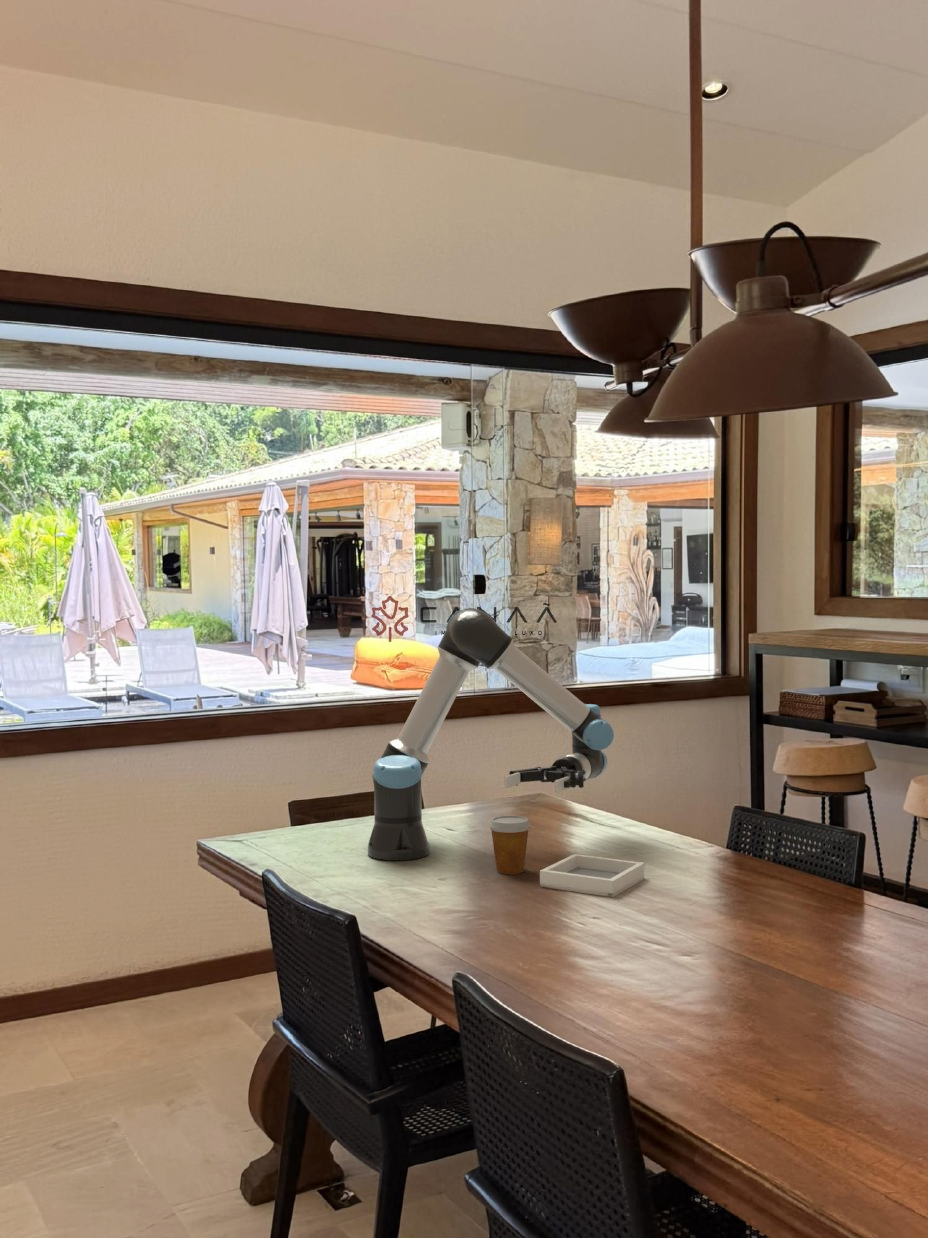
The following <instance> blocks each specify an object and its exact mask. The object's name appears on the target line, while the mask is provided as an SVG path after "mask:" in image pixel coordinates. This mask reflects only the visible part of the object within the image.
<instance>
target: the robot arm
mask: <svg viewBox="0 0 928 1238" xmlns="http://www.w3.org/2000/svg"><path fill="white" fill-rule="evenodd" d="M437 649H438V654H439V656H438V659H437V661H435V662H436V663H435V664H434V665H433V668H432V671H431V672H430V674H429V675H428V678H427V680H426V682H425V683H424V686H423V688H422V690H421V691H420V694H419V696H418V698H417V700H416V701H415V704H414V706H413V707H412V709H411V712H410V713H409V716H408V717H407V719H406V721H405V723H404V725H403V727H402V728H401V730H400V732H399V734H398V737H397V738H395V739H393V740H390V741H388V744H387V745H386V748H385V749H384V751H383V753H382V755H381V756H380V758H379V759H377V760H375V762H374V764H373V765H374V766H373V769H372V782H373V796H374V797H373V798H374V800H373V801H374V802H373V804H374V805H373V806H374V808H373V809H374V813H373V814H374V823H373V827H372V831H371V834H370V836H369V840H368V844H367V855H368V856H369V857H370V858H372V857H373V859H375V858H378V859H377V860H380V859H383V861H392V860H399V861H410V860H416V858H417V859H420V858H424V857H427V856H428V855H429V854H430V843H429V841H428V837H427V833H426V831H425V828H424V825H423V820H422V819H423V817H422V814H423V813H422V807H423V806H422V777H423V775H424V773H425V771H426V770H427V767H428V766H429V764H430V759H429V755H428V752H429V751H430V749H431V747H432V745H433V742H434V740H435V739H436V737H437V735H438V733H439V731H440V729H441V728H442V725H443V724H444V721H445V719H446V717H447V715H448V713H449V712H450V709H451V707H452V705H453V704H454V702H455V700H456V697H457V696H458V694H459V691H460V689H461V688H462V686H463V684H464V682H465V680H466V678H467V677H468V674H469V672H470V671H472V670H475V669H478V668H479V665H480V664H481V665H483V666H484V667H485V668H486V669H488V670H495V671H497V673H499V674H501V676H503V678H505V679H506V680H507V681H509V682H510V683H511V684H512V685H514V686H515V687H516V688H517V689H519V690H520V691H521V692H522V693H524V694H525V695H526V696H527V697H528V698H530V700H532V701H533V702H534V703H535V704H537V705H538V706H539V707H540V708H541V709H542V710H544V711H545V712H546V713H547V714H548V715H550V716H551V717H552V718H554V719H555V720H556V721H558V722H559V723H560V724H561V725H562V726H563V727H564V728H566V730H568V731H569V732H570V733H571V740H572V743H571V746H572V747H571V748H572V749H571V750H572V751H571V752H572V753H571V754H568V755H566V756H562V757H559V758H557V759H555V761H554V762H553V763H552V765H551V766H549V767H541V766H536V767H532V768H531V767H530V768H525V769H524V768H523V769H517V770H510V771H509V774H508V775H506V776H504V777H503V778H504V789H509V788H512V787H514V786H519V785H520V784H521V783H527V782H529V783H531V782H539V781H540V782H541V783H553V784H554V793H560V792H563V791H566V790H568V789H570V788H573V789H574V788H576V786H578V788H580V789H582V788H584V785H585V783H584V782H586V781H588V780H592V779H596V778H597V777H598V776H600V775H602V774H604V772H605V771H606V769H607V768H608V758H607V756H606V753H605V752H604V751H603V750H606V749H608V748H610V746H611V744H613V742H614V738H615V732H614V729H613V726H611V724H610V723H609V722H608V721H606V720H605V719H603V718H602V714H601V707H600V706H599V705H598V704H592V703H589V704H587V703H584V702H583V701H581V700H580V699H579V698H578V697H577V696H576V695H574V694H573V693H572V692H571V691H569V690H568V689H567V688H566V687H564V686H563V685H562V684H561V683H560V682H558V680H556V679H555V678H554V677H552V676H551V675H550V674H549V673H548V672H547V671H545V670H544V669H543V668H542V667H541V666H539V664H537V663H535V661H533V660H532V659H531V658H530V657H528V655H526V654H525V653H524V652H522V651H521V649H519V648H518V647H517V646H515V645H514V638H512V637H511V636H510V635H509V634H508V633H506V632H505V631H504V630H503V629H502V628H501V626H500V625H499V624H498V623H497V622H496V621H495V620H494V619H493V618H492V616H491V615H490V614H488V613H487V612H485V611H483V610H480V609H478V608H475V607H468V608H467V607H466V608H463V609H460V610H458V611H456V612H455V613H454V614H452V616H451V617H450V618H449V619H448V622H447V624H446V630H445V631H444V634H443V636H442V638H441V639H440V642H439V644H438V646H437ZM426 855H427V856H426Z"/></svg>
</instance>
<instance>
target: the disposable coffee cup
mask: <svg viewBox="0 0 928 1238" xmlns="http://www.w3.org/2000/svg"><path fill="white" fill-rule="evenodd" d="M488 826H489V829H490V830H491V838H492V846H493V853H494V861H495V868H496V872H497V873H500V874H504V875H516V874H517V875H518V874H521V873H524V871H525V863H526V853H527V852H526V851H527V845H528V835H529V829H530V827H531V824H530V822H529V818H528V817H525V816H520V815H500V816H494V817H492V818H491V819H490V823H489V825H488Z"/></svg>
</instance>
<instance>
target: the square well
mask: <svg viewBox="0 0 928 1238" xmlns="http://www.w3.org/2000/svg"><path fill="white" fill-rule="evenodd" d="M645 864H646V863H644V862H639V861H633V860H625V859H623V860H622V859H616V858H609V857H601V856H592V855H586V854H576V853H573V854H571V855H569V856H567V857H565V858H564V859H562V860H559V861H557V862H555V863H553V864H551V865H549V866H547V867H545V868H542V869H541V870H539V887H540V888H548V889H554V890H560V891H561V890H562V891H568V892H576V893H582V894H589V895H593V896H594V895H595V896H602V897H608V898H609V897H610V898H615V897H616V896H617V895H619V894H621V893H622V892H624V891H626V890H628V889H630V888H631V887H633V886H634V885H636V884H637V883H640V882H641V881H643V880H645V875H646V873H645ZM642 879H643V880H642Z"/></svg>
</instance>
